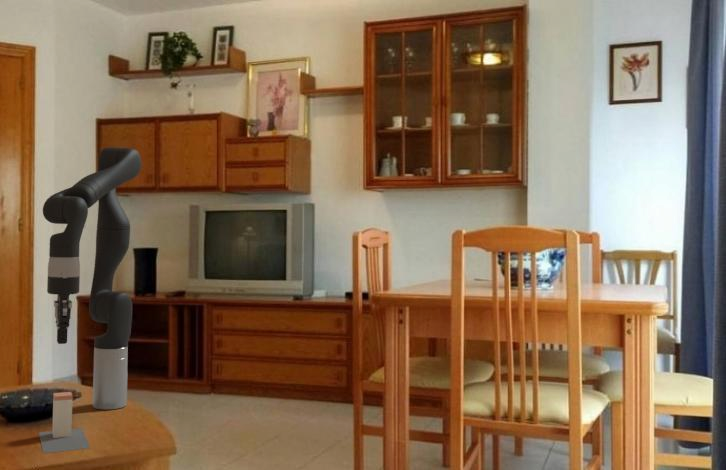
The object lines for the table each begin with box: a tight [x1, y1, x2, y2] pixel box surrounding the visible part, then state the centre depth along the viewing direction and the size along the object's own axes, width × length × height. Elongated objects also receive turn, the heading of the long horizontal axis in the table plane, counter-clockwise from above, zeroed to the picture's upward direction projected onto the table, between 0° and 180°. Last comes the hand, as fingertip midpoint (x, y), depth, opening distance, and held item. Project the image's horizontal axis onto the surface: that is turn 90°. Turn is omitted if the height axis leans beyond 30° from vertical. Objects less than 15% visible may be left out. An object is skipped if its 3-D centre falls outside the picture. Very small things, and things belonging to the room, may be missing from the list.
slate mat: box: [38, 427, 91, 454], centre depth 169 cm, size 18×10×1 cm, turn 28°
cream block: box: [51, 391, 73, 438], centre depth 173 cm, size 4×4×10 cm
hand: (61, 342), depth 179 cm, fingers closed
